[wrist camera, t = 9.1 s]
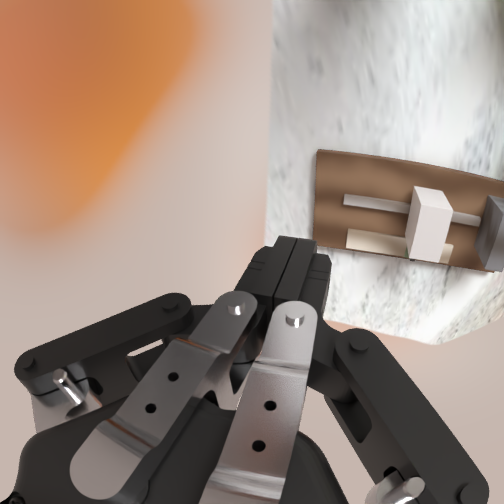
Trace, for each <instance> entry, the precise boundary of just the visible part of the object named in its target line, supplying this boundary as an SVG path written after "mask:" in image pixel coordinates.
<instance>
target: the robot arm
mask: <svg viewBox="0 0 504 504" xmlns="http://www.w3.org/2000/svg"><path fill="white" fill-rule="evenodd" d="M331 266H332V263H331V261H330V258H329V256H328V255H325V254H318V253H317V240H310V239H303V238H295V237H287V236H279V237H278V239H277V241H276V242H275V244H274V246H273V247H268V246H264V247H263V248H261V249H260V250H258V251H257V252H256V253H255V254H254V256H253V258H252V260H251V262H250V263H249V265H248V267H247V269H246V270H245V272H244V273H243V275H242V277H241V279H240V280H239V282H238V284H237V286H236V287H235V289H234V291H231V292H227V293H225V294H223V295H221V296H220V297H219V298H218V299H217V300H216V301H215V303H214V304H212V305H191V301H190V299H189V298H188V297H187V296H186V295H184V294H181V293H169V294H165V295H163V296H160V297H158V298H156V299H153V300H150V301H148V302H146V303H143V304H141V305H138V306H136V307H134V308H131V309H129V310H126V311H124V312H121V313H119V314H116V315H114V316H111V317H109V318H107V319H104V320H102V321H99V322H97V323H95V324H92V325H90V326H87V327H85V328H82V329H80V330H77V331H75V332H72V333H70V334H68V335H65V336H62V337H60V338H58V339H55V340H53V341H50V342H48V343H45V344H43V345H40V346H38V347H35V348H33V349H30V350H28V351H26V352H24V353H23V354H22V355H21V356H20V357H19V358H18V360H17V362H16V364H15V367H14V372H15V375H16V377H17V378H18V379H19V380H20V382H21V383H22V384H23V385H24V386H25V387H26V388H27V390H28V391H29V393H30V394H31V399H32V407H33V414H34V421H35V427H36V433H37V434H35V435H34V436H33V437H32V438H30V439H29V441H28V442H27V443H26V445H25V446H24V448H23V450H22V453H21V456H20V462H19V470H18V475H17V480H16V483H15V486H14V489H13V492H12V493H11V495H10V496H9V497H8V498H7V499H5V500H4V501H2V502H0V504H349V503H348V501H347V499H346V497H345V495H344V493H343V491H342V489H341V487H340V485H339V483H338V481H337V479H336V477H335V475H334V473H333V471H332V469H331V467H330V465H329V463H328V461H327V459H326V457H325V455H324V453H323V452H322V451H321V449H320V448H319V447H318V445H317V444H316V443H314V441H313V440H311V439H310V438H309V437H308V436H306V435H305V434H303V433H302V432H300V431H299V426H300V421H301V415H302V410H303V406H304V401H305V396H306V390H307V386H309V387H310V388H312V389H314V390H316V391H318V392H320V393H322V394H324V399H325V401H326V403H327V405H328V406H329V408H330V410H331V411H332V413H333V415H334V416H335V418H336V420H337V421H338V423H339V425H340V427H341V428H342V430H343V432H344V433H345V435H346V437H347V438H348V440H349V442H350V443H351V445H352V447H353V448H354V450H355V452H356V453H357V455H358V457H359V458H360V460H361V462H362V463H363V465H364V467H365V468H366V470H367V472H368V473H369V475H370V476H371V478H372V480H373V481H374V483H375V486H374V487H373V488H372V489H371V490H370V491H369V493H368V494H367V497H366V500H365V504H487V502H488V498H489V486H488V483H487V481H486V479H485V478H484V476H483V475H482V474H481V472H480V471H479V469H478V468H477V466H476V465H475V464H474V462H473V461H472V459H471V458H470V457H469V455H468V454H467V452H466V451H465V450H464V448H463V447H462V446H461V444H460V443H459V442H458V440H457V439H456V437H455V436H454V435H453V433H452V432H451V431H450V429H449V428H448V426H447V425H446V424H445V423H444V421H443V420H442V419H441V417H440V416H439V414H438V413H437V412H436V411H435V409H434V408H433V407H432V405H431V404H430V403H429V401H428V400H427V399H426V398H425V396H424V395H423V394H422V392H421V391H420V390H419V388H418V387H417V386H416V385H415V384H414V382H413V381H412V380H411V378H410V377H409V376H408V374H407V373H406V372H405V371H404V369H403V368H402V367H401V366H400V365H399V363H398V362H397V361H396V359H395V358H394V357H393V356H392V354H391V353H390V352H389V351H388V349H387V348H386V347H385V346H384V345H383V343H382V342H381V341H380V340H379V338H378V337H377V336H376V335H375V334H373V333H372V332H370V331H368V330H365V329H359V328H354V329H349V330H346V331H344V332H342V333H341V332H339V331H337V330H335V329H333V328H331V327H330V326H329V325H328V324H327V323H326V322H325V321H324V320H323V314H324V309H325V305H326V301H327V296H328V290H329V283H330V275H331ZM160 339H162V342H163V344H161V345H159V346H156V347H154V348H152V349H150V350H147V351H145V352H143V353H140V354H138V355H136V356H127V354H129V353H130V352H132V351H135V350H137V349H139V348H141V347H144V346H146V345H148V344H151V343H153V342H155V341H158V340H160ZM261 350H262V351H261ZM260 352H261V354H260ZM241 395H242V396H241ZM240 396H241V399H240V402H239V405H238V408H237V404H238V401H239V398H240ZM236 408H237V410H236Z"/></svg>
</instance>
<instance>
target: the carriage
mask: <svg viewBox="0 0 504 504" xmlns="http://www.w3.org/2000/svg"><path fill="white" fill-rule="evenodd" d="M452 214H453V209H452V207H451V205H450V204H449V202H448V200H447V198H446V196H445V195H444V193H443V191H440V190H434V189H429V188H423V187H418V186H414V189H413V195H412V201H411V206H410V212H409V217H408V222H407V227H406V231H405V237H406V243H407V248H408V254H409V258H410V261H414V260H415V259H418V260H424V261H431V262H437V263H439V260H440V257H441V254H442V251H443V247H444V244H445V240H446V237H447V233H448V229H449V226H450V222H451V218H452Z"/></svg>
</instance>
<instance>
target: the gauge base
mask: <svg viewBox="0 0 504 504" xmlns="http://www.w3.org/2000/svg"><path fill="white" fill-rule="evenodd" d="M414 186H418V187H423V188H429V189H434V190H440V191H443V193H444V195H445V196H446V198H447V200H448V202H449V204H450V205H451V207H452V209H453V214H452V218H451V222H450V226H449V229H448V233H447V237H446V240H445V244H444V247H443V251H442V254H441V257H440V260H439V263H437V262H431V261H424V260H418V259H415V260H418V261H424V262H431V263H437V264H443V265H450V266H456V267H462V268H468V269H474V270H480V271H486V272H492V273H494V272H495V271H498V272H502V271H503V268H504V181H500V180H496V179H492V178H488V177H484V176H480V175H476V174H472V173H468V172H463V171H459V170H454V169H450V168H445V167H440V166H435V165H429V164H424V163H419V162H413V161H407V160H401V159H395V158H388V157H381V156H374V155H367V154H359V153H350V152H342V151H332V150H322V149H318V150H317V160H316V188H315V209H314V227H313V240H317V245H318V246H325V247H332V248H339V249H346V250H352V251H359V252H366V253H372V254H379V255H386V256H392V257H399V258H405V259H410V258H409V254H408V248H407V243H406V237H405V231H406V227H407V222H408V217H409V212H410V206H411V201H412V195H413V189H414Z"/></svg>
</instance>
